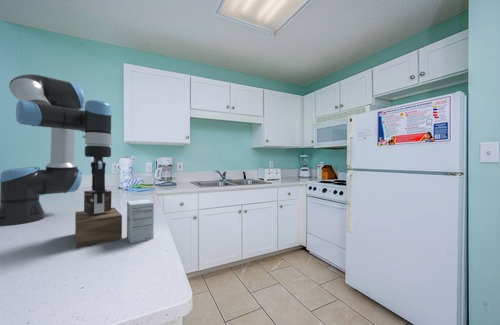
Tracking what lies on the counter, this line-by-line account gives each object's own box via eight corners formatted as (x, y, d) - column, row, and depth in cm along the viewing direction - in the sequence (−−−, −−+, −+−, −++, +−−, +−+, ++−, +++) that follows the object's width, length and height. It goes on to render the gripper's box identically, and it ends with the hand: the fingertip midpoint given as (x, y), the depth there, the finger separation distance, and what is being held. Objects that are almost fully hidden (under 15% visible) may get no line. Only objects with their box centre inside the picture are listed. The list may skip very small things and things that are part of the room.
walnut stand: (75, 233, 76) (75, 211, 76) (114, 227, 84) (114, 207, 84) (76, 247, 64) (76, 221, 64) (121, 238, 72) (121, 215, 72)
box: (83, 212, 73) (83, 191, 73) (102, 208, 78) (102, 189, 78) (92, 214, 70) (92, 192, 70) (111, 210, 75) (111, 190, 75)
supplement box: (126, 237, 74) (126, 201, 74) (149, 232, 78) (149, 199, 78) (129, 243, 68) (129, 204, 68) (154, 238, 72) (154, 202, 72)
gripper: (83, 146, 79) (82, 207, 79) (86, 143, 64) (86, 218, 64) (107, 147, 84) (106, 204, 84) (115, 145, 69) (115, 214, 69)
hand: (97, 210), depth 74 cm, fingers closed on box, 8 cm apart
